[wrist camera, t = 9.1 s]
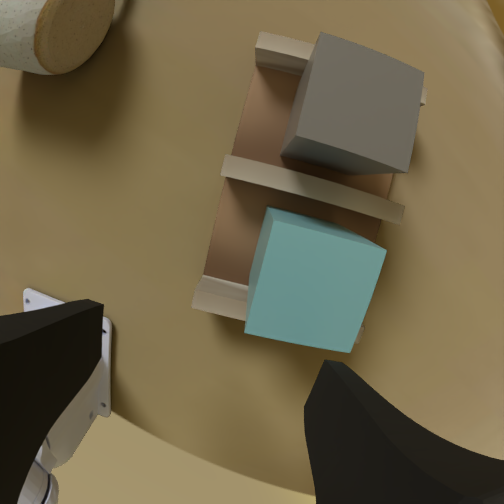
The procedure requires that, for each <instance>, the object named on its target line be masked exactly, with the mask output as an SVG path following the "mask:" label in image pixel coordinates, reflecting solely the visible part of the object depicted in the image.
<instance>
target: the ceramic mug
mask: <svg viewBox="0 0 504 504" xmlns="http://www.w3.org/2000/svg"><path fill="white" fill-rule="evenodd" d="M114 6H115V0H0V67H6V68H11V69H16V70H23V71H27V72H32V73H36V74H43V75H56V74H64V73H67V72H70V71H72V70H74V69H76V68H78V67H79V66H80V65H82V64H83V63H84V62H85V61H87V60H88V59H89V58H90V57H91V56H92V55H93V53H94V52H95V51H96V49H97V48H98V47H99V45H100V44H101V42H102V41H103V39H104V37H105V35H106V33H107V31H108V29H109V27H110V24H111V21H112V17H113V14H114Z"/></svg>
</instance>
